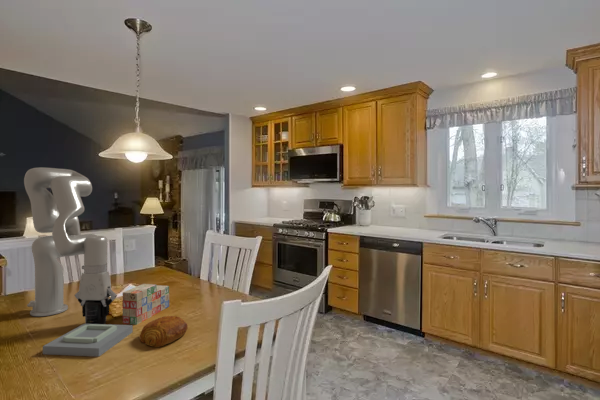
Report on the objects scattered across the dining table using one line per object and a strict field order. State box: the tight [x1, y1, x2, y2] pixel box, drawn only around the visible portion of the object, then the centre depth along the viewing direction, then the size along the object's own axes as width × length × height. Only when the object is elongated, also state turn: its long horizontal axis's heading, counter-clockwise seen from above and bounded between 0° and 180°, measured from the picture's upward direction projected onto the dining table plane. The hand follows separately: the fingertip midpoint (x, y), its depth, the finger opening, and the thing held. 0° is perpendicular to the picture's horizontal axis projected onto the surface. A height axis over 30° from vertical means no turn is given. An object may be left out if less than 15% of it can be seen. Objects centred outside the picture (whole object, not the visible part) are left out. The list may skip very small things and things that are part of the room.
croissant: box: [139, 315, 189, 348], centre depth 114 cm, size 14×16×8 cm
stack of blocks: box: [121, 283, 170, 326], centre depth 136 cm, size 21×6×12 cm, turn 169°
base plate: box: [42, 323, 134, 357], centre depth 110 cm, size 18×18×4 cm
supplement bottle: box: [84, 300, 107, 324], centre depth 125 cm, size 7×7×12 cm
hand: (95, 315), depth 125 cm, fingers closed on supplement bottle, 6 cm apart
